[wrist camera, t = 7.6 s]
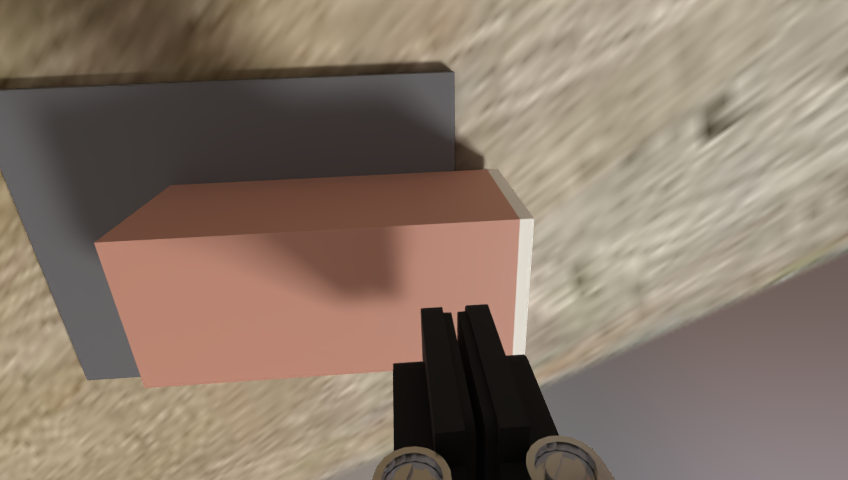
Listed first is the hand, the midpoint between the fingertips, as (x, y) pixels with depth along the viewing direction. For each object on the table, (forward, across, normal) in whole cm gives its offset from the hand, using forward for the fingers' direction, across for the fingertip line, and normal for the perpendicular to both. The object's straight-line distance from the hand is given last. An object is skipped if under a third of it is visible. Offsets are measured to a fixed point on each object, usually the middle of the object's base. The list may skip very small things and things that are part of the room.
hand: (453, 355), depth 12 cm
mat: (+8, +7, 0) cm, 11 cm away
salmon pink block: (+5, -3, 0) cm, 6 cm away
